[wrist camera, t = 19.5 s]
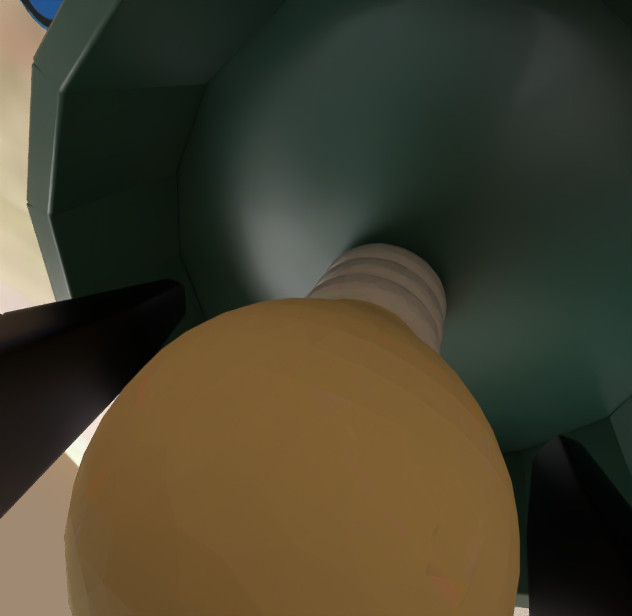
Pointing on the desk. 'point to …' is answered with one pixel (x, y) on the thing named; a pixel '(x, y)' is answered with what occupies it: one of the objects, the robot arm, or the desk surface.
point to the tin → (363, 179)
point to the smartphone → (42, 10)
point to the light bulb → (300, 465)
